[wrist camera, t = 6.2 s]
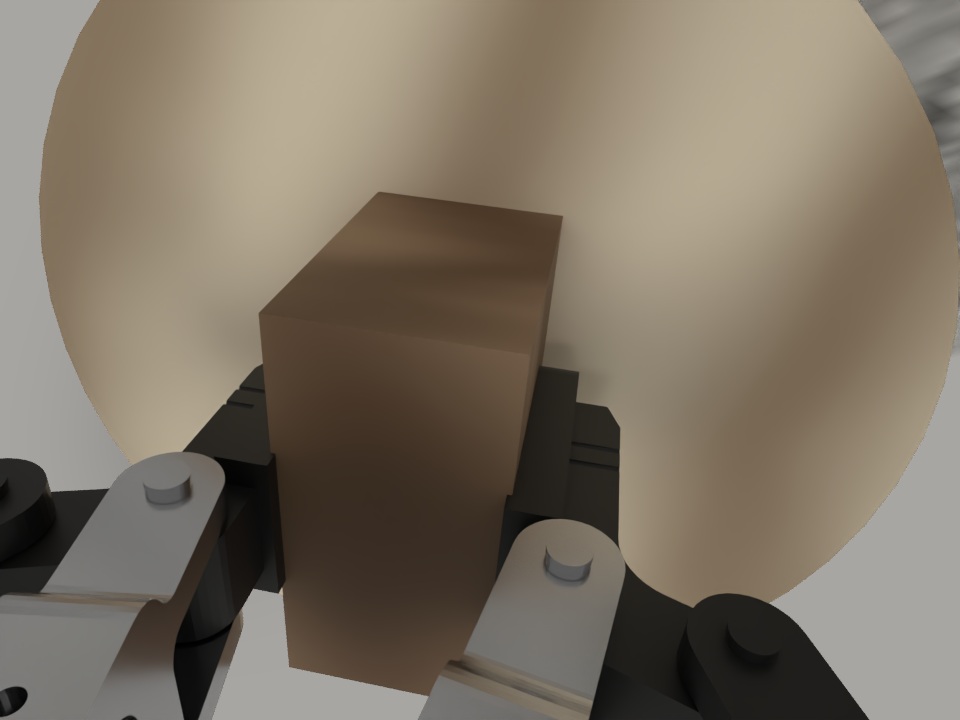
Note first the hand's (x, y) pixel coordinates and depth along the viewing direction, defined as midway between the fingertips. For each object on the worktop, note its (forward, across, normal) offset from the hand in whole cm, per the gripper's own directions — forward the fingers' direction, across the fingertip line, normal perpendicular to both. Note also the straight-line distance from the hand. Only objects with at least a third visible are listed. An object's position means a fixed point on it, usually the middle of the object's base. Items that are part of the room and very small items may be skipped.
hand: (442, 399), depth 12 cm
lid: (+2, 0, 0) cm, 2 cm away
